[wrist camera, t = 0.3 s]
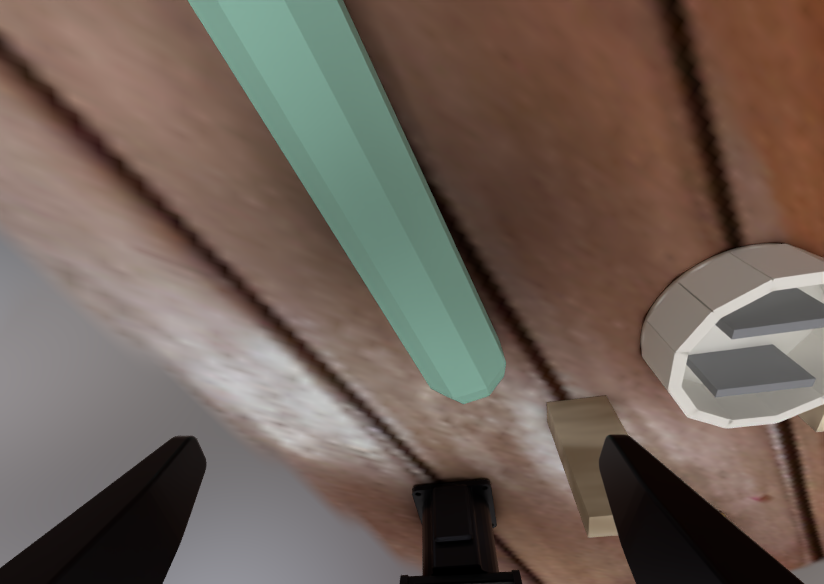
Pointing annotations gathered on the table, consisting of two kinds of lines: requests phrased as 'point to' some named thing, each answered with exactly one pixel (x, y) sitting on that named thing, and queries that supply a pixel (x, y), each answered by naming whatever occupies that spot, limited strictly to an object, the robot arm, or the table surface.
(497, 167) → the table surface
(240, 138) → the table surface
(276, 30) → the mint green faceted bar
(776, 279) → the white round dish
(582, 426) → the beige long wooden block
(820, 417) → the beige flat block
